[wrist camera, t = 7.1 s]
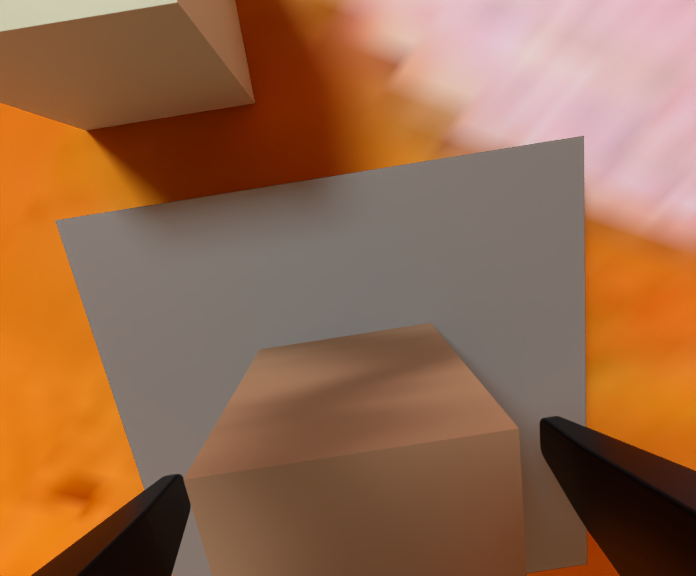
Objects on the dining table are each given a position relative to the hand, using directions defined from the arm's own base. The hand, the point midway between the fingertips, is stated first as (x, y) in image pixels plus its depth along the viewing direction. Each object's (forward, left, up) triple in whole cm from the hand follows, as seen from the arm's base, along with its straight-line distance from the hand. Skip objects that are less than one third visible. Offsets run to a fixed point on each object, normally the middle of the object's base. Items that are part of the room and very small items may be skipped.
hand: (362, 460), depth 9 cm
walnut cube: (0, 0, -2) cm, 2 cm away
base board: (0, 0, -4) cm, 4 cm away
